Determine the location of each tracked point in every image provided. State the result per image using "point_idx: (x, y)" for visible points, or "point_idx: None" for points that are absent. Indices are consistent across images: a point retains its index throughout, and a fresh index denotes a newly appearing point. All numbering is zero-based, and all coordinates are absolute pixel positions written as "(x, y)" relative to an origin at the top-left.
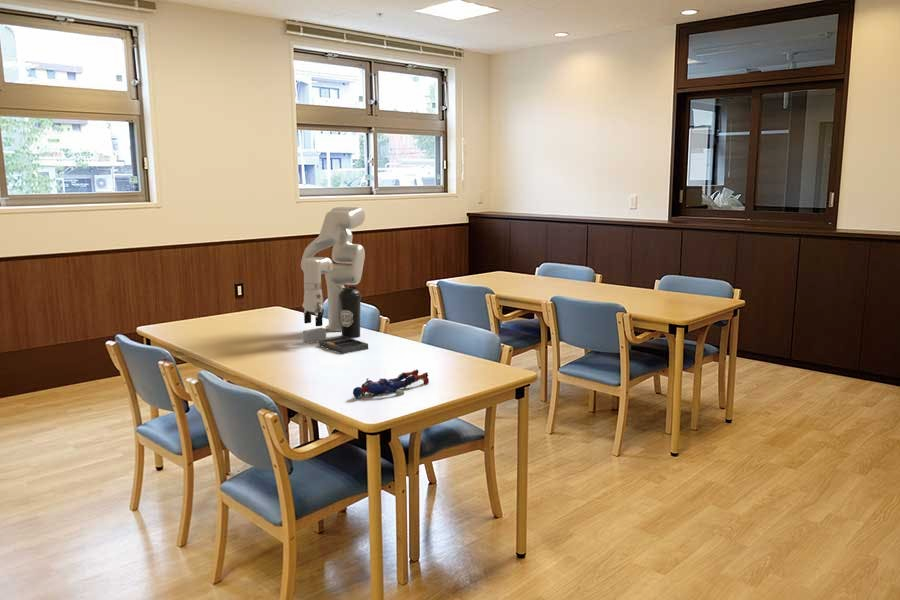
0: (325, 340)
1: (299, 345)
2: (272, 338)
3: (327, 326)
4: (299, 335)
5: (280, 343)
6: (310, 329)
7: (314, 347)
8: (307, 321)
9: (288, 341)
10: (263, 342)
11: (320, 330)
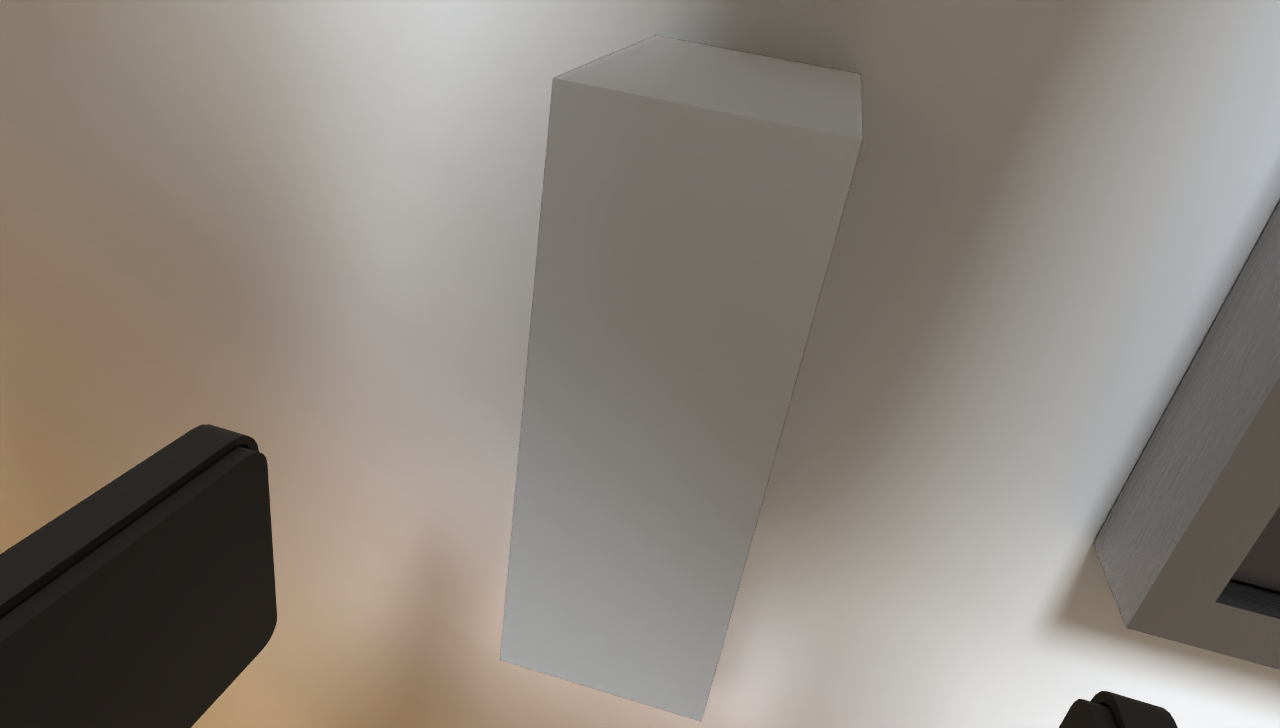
0: (1266, 510)
1: (728, 663)
2: (41, 526)
3: None
4: (33, 121)
5: (393, 681)
6: (527, 494)
7: (1101, 666)
8: (231, 605)
9: (355, 552)
10: (202, 720)
11: (803, 347)
